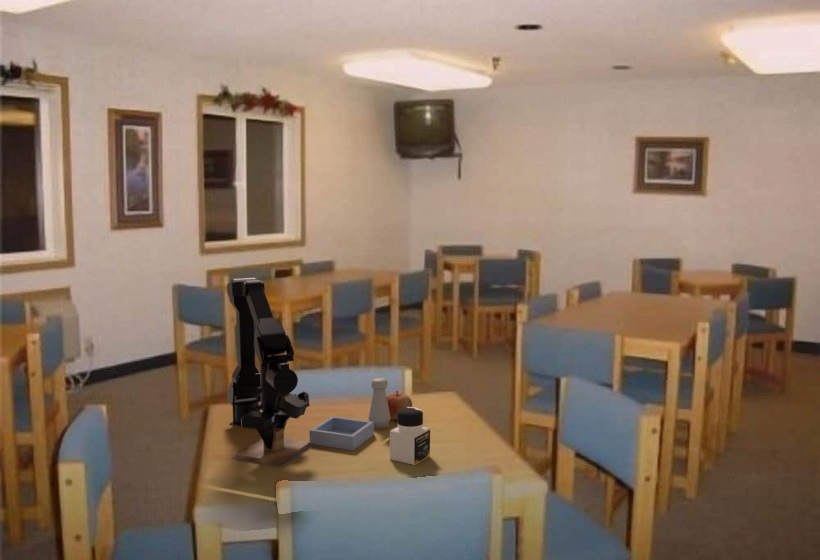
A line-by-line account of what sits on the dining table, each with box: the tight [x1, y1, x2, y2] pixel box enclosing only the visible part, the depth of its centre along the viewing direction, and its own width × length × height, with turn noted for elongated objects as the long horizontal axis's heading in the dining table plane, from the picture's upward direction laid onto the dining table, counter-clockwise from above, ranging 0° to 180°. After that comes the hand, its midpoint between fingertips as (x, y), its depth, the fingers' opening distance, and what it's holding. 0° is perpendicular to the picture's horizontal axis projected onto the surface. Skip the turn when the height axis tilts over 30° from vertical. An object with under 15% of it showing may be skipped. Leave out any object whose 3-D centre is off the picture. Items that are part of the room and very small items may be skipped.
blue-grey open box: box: [309, 415, 375, 451], centre depth 193 cm, size 12×12×4 cm
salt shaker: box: [368, 377, 391, 430], centre depth 204 cm, size 6×6×13 cm
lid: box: [235, 427, 311, 466], centre depth 184 cm, size 12×14×6 cm
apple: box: [386, 390, 413, 421], centre depth 211 cm, size 8×8×8 cm
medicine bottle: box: [389, 406, 431, 466], centre depth 182 cm, size 7×7×12 cm
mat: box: [231, 444, 315, 468], centre depth 184 cm, size 14×15×1 cm
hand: (273, 445), depth 184 cm, fingers closed on lid, 3 cm apart
